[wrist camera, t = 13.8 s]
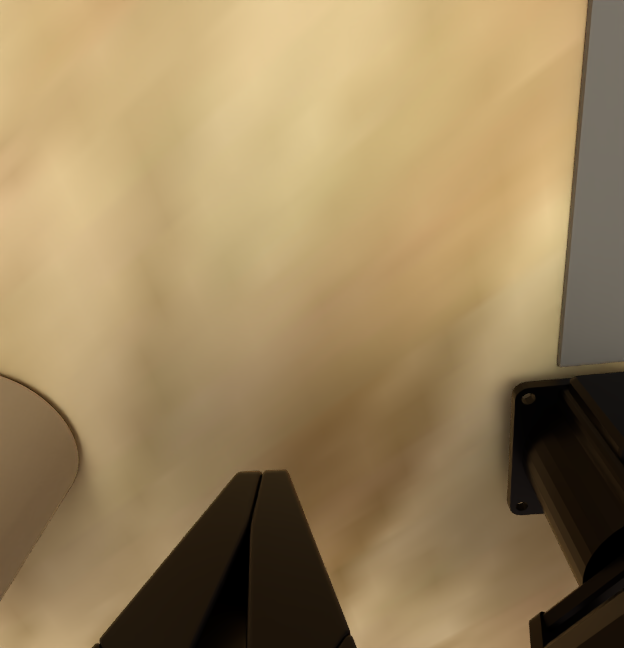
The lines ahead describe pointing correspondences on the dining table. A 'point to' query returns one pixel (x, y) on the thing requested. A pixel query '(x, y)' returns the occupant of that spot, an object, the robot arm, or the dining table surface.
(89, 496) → the dining table surface
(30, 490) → the travel mug
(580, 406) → the robot arm
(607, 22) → the track mat
